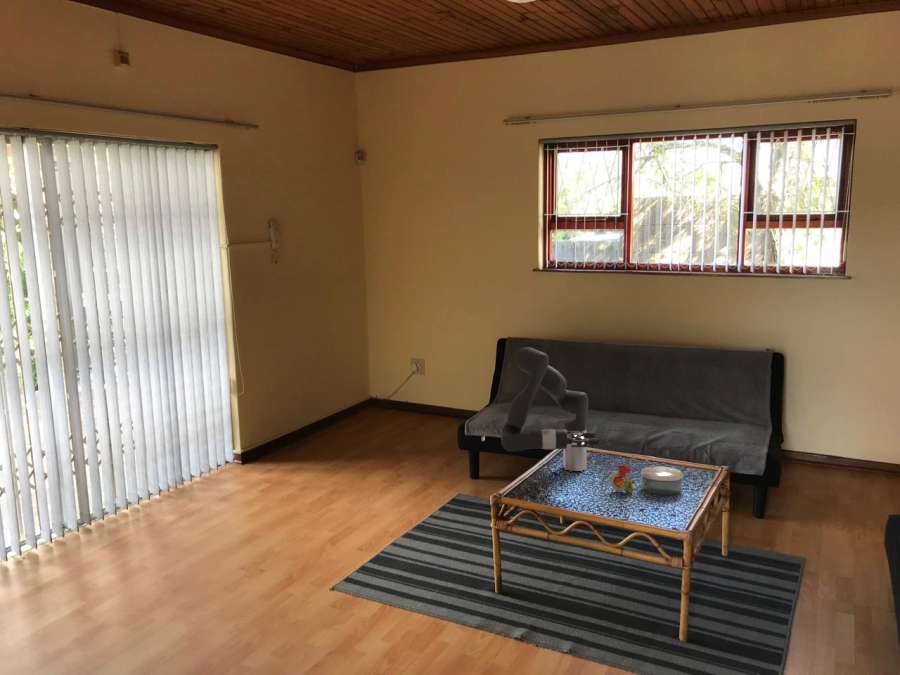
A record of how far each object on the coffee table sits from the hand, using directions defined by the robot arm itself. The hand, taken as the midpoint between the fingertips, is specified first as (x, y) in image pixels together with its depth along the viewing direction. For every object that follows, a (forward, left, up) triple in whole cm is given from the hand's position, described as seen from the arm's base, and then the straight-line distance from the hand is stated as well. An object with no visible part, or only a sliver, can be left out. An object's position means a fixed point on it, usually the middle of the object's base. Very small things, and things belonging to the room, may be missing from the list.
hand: (596, 438), depth 273 cm
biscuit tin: (+25, +1, -21) cm, 33 cm away
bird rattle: (+10, 0, -21) cm, 24 cm away
